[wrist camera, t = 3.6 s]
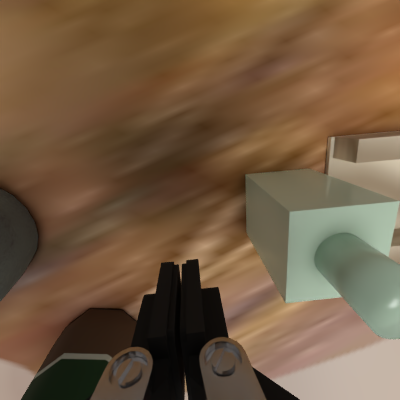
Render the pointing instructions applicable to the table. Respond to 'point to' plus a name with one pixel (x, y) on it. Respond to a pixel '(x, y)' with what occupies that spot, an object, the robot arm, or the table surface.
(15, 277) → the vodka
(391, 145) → the cradle
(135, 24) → the table surface
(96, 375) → the beer bottle
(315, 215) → the bottle
